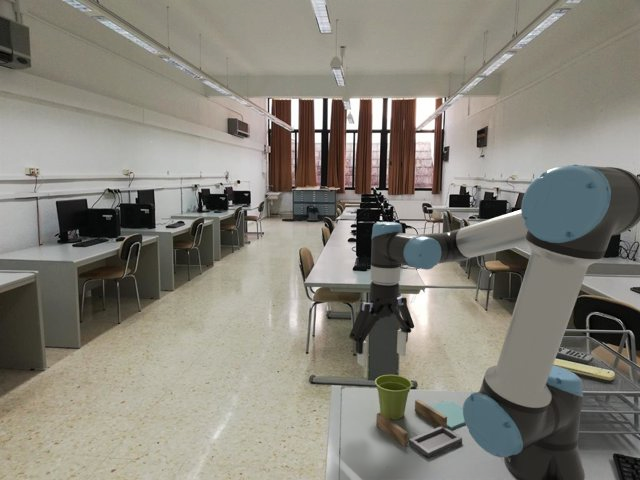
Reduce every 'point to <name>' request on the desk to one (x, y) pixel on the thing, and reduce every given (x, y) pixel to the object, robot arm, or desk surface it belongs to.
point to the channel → (401, 433)
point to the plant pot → (393, 395)
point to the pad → (451, 413)
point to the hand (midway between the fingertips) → (381, 359)
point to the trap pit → (435, 441)
